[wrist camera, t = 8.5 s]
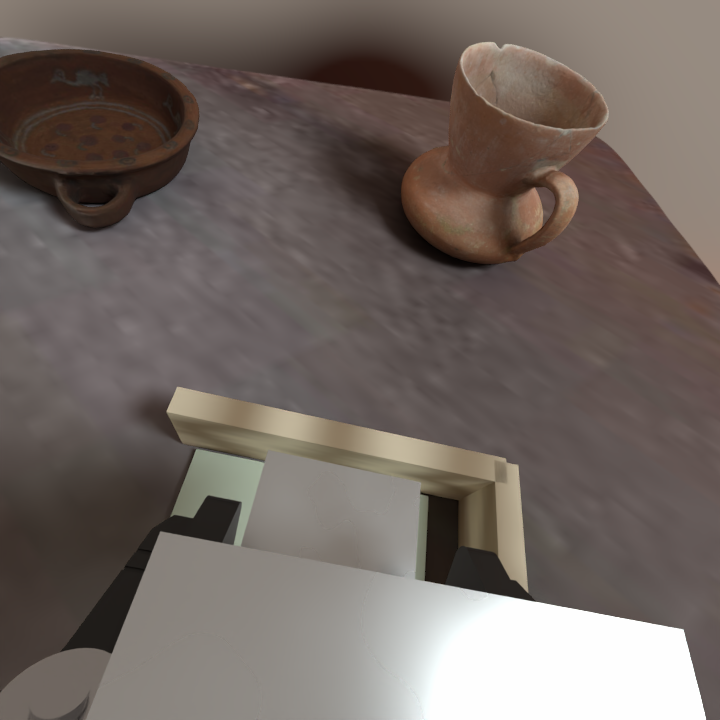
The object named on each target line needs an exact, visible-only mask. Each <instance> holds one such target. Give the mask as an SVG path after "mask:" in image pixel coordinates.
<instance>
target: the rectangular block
mask: <svg viewBox="0 0 720 720" xmlns="http://www.w3.org/2000/svg"><path fill="white" fill-rule="evenodd" d="M420 489H421V482H417V481H412V480H408V479H403V478H398V477H394V476H389V475H384V474H379V473H375V472H370V471H365V470H361V469H356V468H351V467H346V466H342V465H337V464H332V463H327V462H323V461H318V460H313V459H309V458H304V457H299V456H294V455H290V454H285V453H280V452H276V451H271V450H268V452H267V456H266V459H265V463H264V466H263V470H262V473H261V477H260V480H259V484H258V487H257V491H256V494H255V498H254V501H253V505H252V508H251V512H250V515H249V519H248V522H247V526H246V529H245V533H244V536H243V540H242V543H241V546H235V545H230V544H225V543H219V542H214V541H209V540H203V539H198V538H193V537H188V536H182V535H177V534H172V533H166V532H161V531H160V533H159V536H158V539H157V541H156V544H155V546H154V549H153V551H152V554H151V556H150V559H149V561H148V564H147V566H146V569H145V571H144V574H143V576H142V579H141V581H140V584H139V587H138V589H137V592H136V594H135V597H134V599H133V602H132V604H131V607H130V609H129V612H128V614H127V617H126V619H125V622H124V624H123V627H122V629H121V632H120V634H119V637H118V640H117V642H116V645H115V647H114V650H113V652H112V655H111V657H110V660H109V662H108V665H107V667H106V670H105V672H104V675H103V677H102V680H101V682H100V685H99V688H98V690H97V693H96V695H95V698H94V700H93V703H92V705H91V708H90V710H89V713H88V715H87V718H86V720H706V718H705V714H704V710H703V706H702V702H701V698H700V694H699V690H698V686H697V682H696V678H695V674H694V670H693V666H692V663H691V659H690V655H689V651H688V647H687V643H686V639H685V635H684V631H683V630H681V629H676V628H671V627H666V626H660V625H655V624H650V623H644V622H639V621H634V620H628V619H623V618H618V617H612V616H607V615H602V614H596V613H591V612H586V611H581V610H575V609H570V608H565V607H559V606H554V605H549V604H543V603H538V602H533V601H527V600H522V599H517V598H512V597H506V596H501V595H496V594H490V593H485V592H480V591H474V590H469V589H464V588H458V587H453V586H448V585H442V584H437V583H432V582H427V581H421V580H416V579H415V570H416V554H417V537H418V521H419V505H420Z"/></svg>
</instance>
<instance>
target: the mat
mask: <svg viewBox="0 0 720 720" xmlns="http://www.w3.org/2000/svg"><path fill="white" fill-rule="evenodd" d="M263 466H264V463H263V462H258V461H253V460H248V459H244V458H239V457H234V456H229V455H224V454H219V453H214V452H209V451H204V450H200V449H196V452H195V454H194V457H193V459H192V462H191V465H190V467H189V470H188V472H187V475H186V478H185V480H184V483H183V485H182V488H181V491H180V493H179V496H178V498H177V501H176V504H175V506H174V509H173V512H172V514H171V517H172V516H173V515H179V516H184V517H189V518H194V516H195V514H196V513H197V511H198V509H199V508H200V506H201V505H202V503H203V501H204V500H205V498H206V497H207V496H208V495H210V496H215V497H220V498H225V499H230V500H235V501H240V502H242V506H241V512H240V517H239V522H238V526H237V531H236V536H235V541H234V545H235V546H241V543H242V540H243V536H244V533H245V529H246V526H247V522H248V519H249V515H250V512H251V508H252V505H253V501H254V498H255V494H256V491H257V487H258V484H259V480H260V477H261V473H262V470H263ZM427 518H428V496H425V495H420V505H419V521H418V537H417V554H416V570H415V579H416V580H421V581H425V561H426V539H427Z"/></svg>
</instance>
